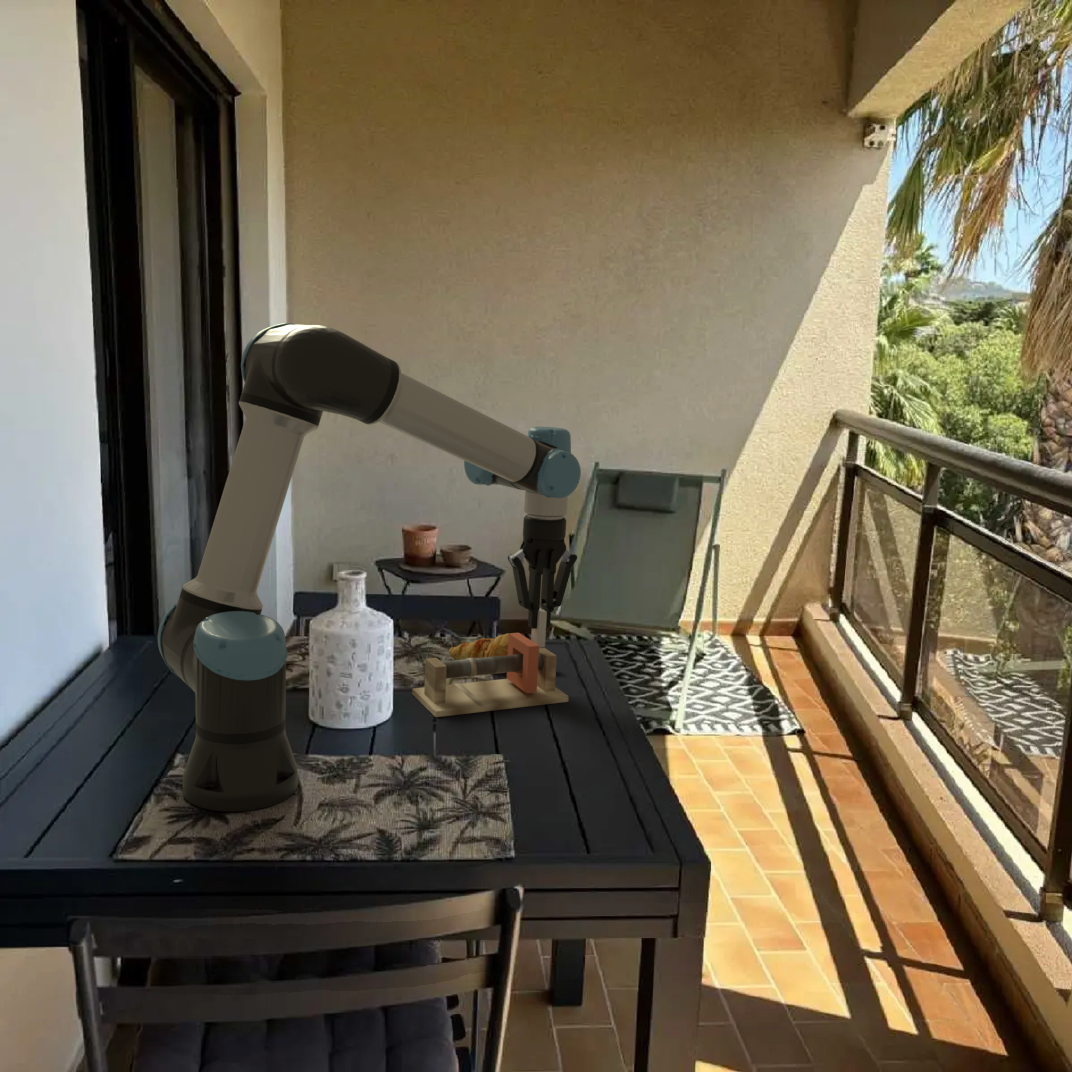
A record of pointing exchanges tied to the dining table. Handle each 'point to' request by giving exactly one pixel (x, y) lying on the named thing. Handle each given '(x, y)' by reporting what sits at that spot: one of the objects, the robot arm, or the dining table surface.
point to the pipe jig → (485, 685)
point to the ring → (524, 662)
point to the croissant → (481, 648)
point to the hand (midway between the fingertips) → (537, 645)
